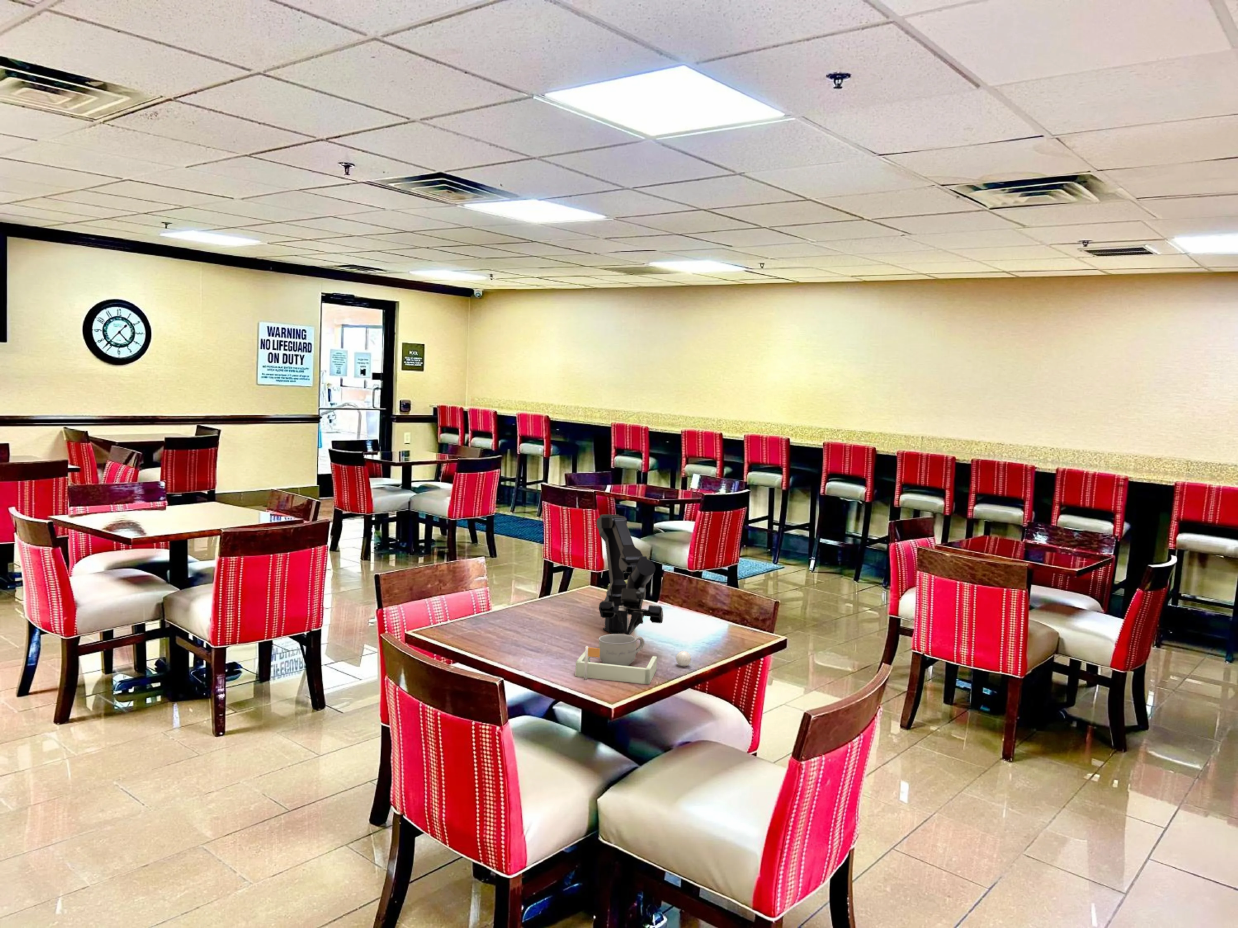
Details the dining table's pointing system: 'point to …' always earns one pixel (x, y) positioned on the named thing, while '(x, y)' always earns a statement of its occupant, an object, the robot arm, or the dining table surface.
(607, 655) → the teacup
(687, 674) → the dining table surface
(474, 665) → the dining table surface
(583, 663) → the corral
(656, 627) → the dining table surface
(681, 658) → the golf ball
